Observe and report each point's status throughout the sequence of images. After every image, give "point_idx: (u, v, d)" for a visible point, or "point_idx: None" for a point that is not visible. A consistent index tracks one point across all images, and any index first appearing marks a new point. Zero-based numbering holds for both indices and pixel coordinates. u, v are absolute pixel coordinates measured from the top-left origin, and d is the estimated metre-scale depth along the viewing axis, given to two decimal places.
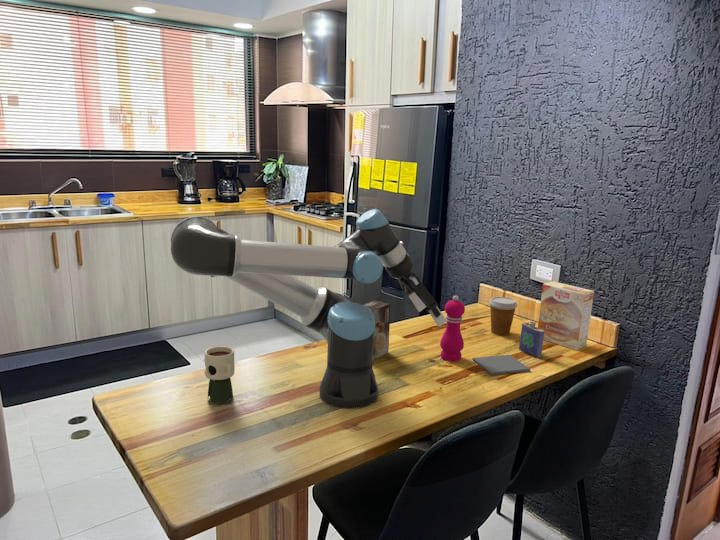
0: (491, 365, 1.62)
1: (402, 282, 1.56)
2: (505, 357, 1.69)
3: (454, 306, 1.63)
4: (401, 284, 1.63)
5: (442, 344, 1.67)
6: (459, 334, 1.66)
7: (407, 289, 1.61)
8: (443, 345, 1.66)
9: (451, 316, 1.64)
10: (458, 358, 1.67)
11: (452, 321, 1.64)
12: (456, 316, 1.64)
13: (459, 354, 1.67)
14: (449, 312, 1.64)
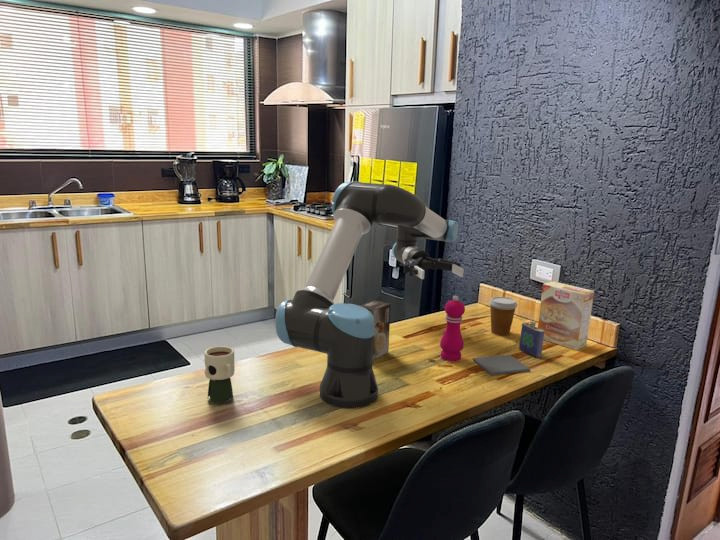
0: (491, 365, 1.62)
1: (421, 259, 1.84)
2: (505, 357, 1.69)
3: (454, 306, 1.63)
4: (408, 263, 1.80)
5: (442, 344, 1.67)
6: (459, 334, 1.66)
7: (416, 265, 1.79)
8: (444, 345, 1.66)
9: (451, 316, 1.64)
10: (458, 358, 1.67)
11: (452, 321, 1.64)
12: (456, 316, 1.64)
13: (459, 354, 1.67)
14: (449, 312, 1.64)
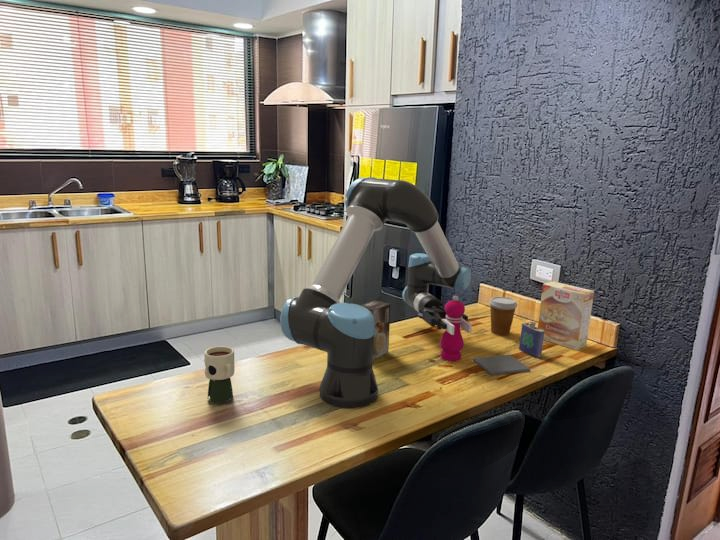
0: (491, 365, 1.62)
1: (436, 308, 1.76)
2: (505, 357, 1.69)
3: (454, 306, 1.63)
4: (430, 315, 1.70)
5: (442, 344, 1.67)
6: (459, 334, 1.66)
7: None
8: (443, 345, 1.66)
9: (451, 316, 1.64)
10: (458, 358, 1.67)
11: (452, 321, 1.64)
12: (456, 316, 1.64)
13: (459, 354, 1.67)
14: (449, 312, 1.64)
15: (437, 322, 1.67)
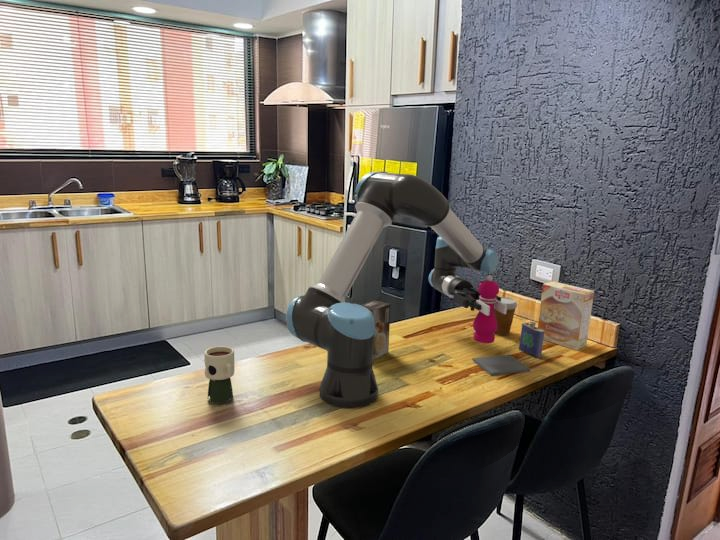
0: (491, 365, 1.62)
1: (467, 290, 1.72)
2: (505, 357, 1.69)
3: (488, 286, 1.59)
4: (463, 296, 1.67)
5: (475, 326, 1.63)
6: (493, 315, 1.62)
7: None
8: (477, 327, 1.62)
9: (485, 297, 1.61)
10: (492, 340, 1.63)
11: (486, 302, 1.61)
12: (490, 296, 1.60)
13: (493, 336, 1.64)
14: (483, 292, 1.60)
15: (471, 303, 1.63)
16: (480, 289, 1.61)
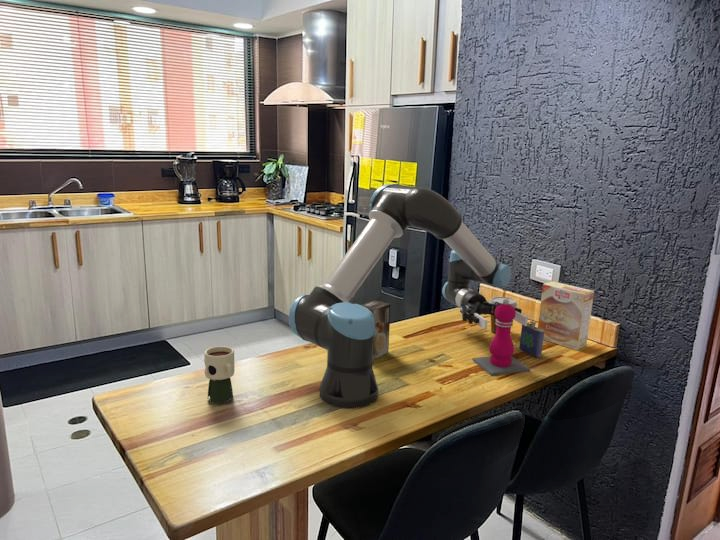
0: (491, 365, 1.62)
1: (479, 304, 1.73)
2: None
3: (505, 310, 1.58)
4: (466, 310, 1.69)
5: (492, 350, 1.62)
6: (510, 339, 1.61)
7: (475, 312, 1.68)
8: (494, 350, 1.61)
9: (502, 320, 1.59)
10: (509, 363, 1.62)
11: (503, 325, 1.59)
12: (507, 320, 1.59)
13: (510, 359, 1.63)
14: (500, 316, 1.59)
15: (468, 316, 1.66)
16: (496, 313, 1.60)
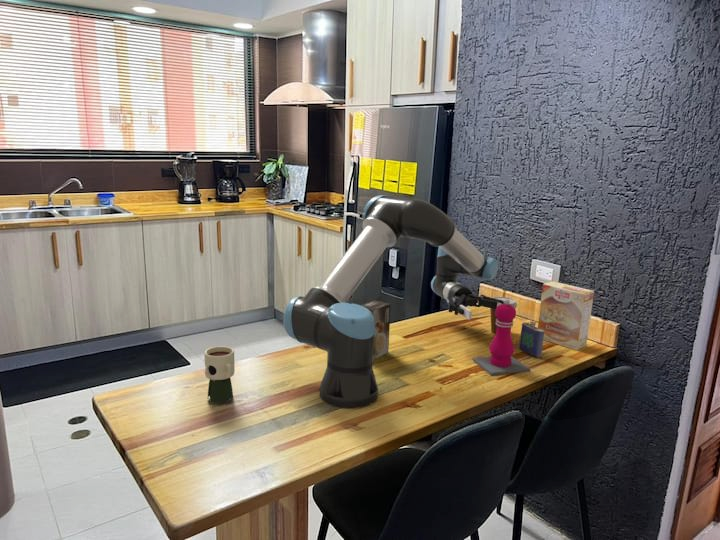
0: (491, 365, 1.62)
1: (465, 296, 1.82)
2: None
3: (505, 310, 1.58)
4: (452, 302, 1.77)
5: (492, 350, 1.62)
6: (510, 339, 1.61)
7: (460, 303, 1.76)
8: (494, 350, 1.61)
9: (502, 320, 1.59)
10: (509, 364, 1.62)
11: (503, 326, 1.59)
12: (507, 320, 1.59)
13: (510, 359, 1.63)
14: (500, 316, 1.59)
15: (453, 307, 1.74)
16: (497, 313, 1.60)
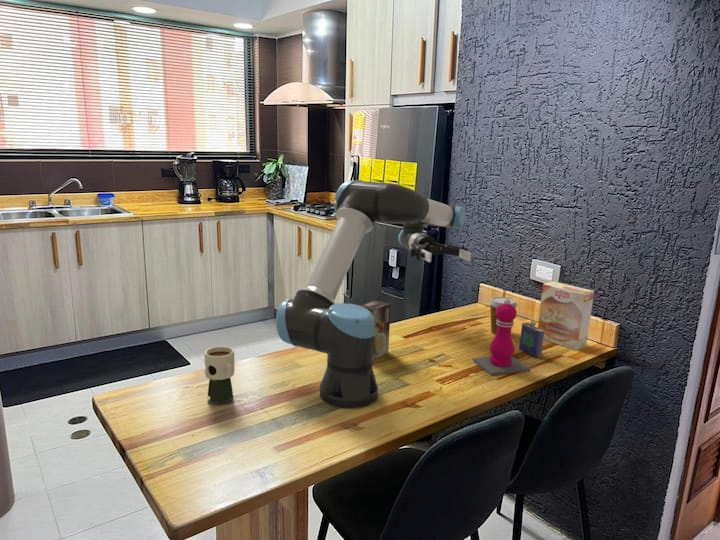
0: (491, 365, 1.62)
1: (428, 244, 1.83)
2: None
3: (506, 310, 1.58)
4: (415, 247, 1.78)
5: (492, 349, 1.62)
6: (510, 339, 1.61)
7: (423, 249, 1.78)
8: (494, 350, 1.61)
9: (503, 320, 1.60)
10: (509, 364, 1.62)
11: (504, 325, 1.59)
12: (508, 320, 1.59)
13: (510, 359, 1.63)
14: (501, 316, 1.59)
15: (415, 252, 1.75)
16: (497, 313, 1.60)
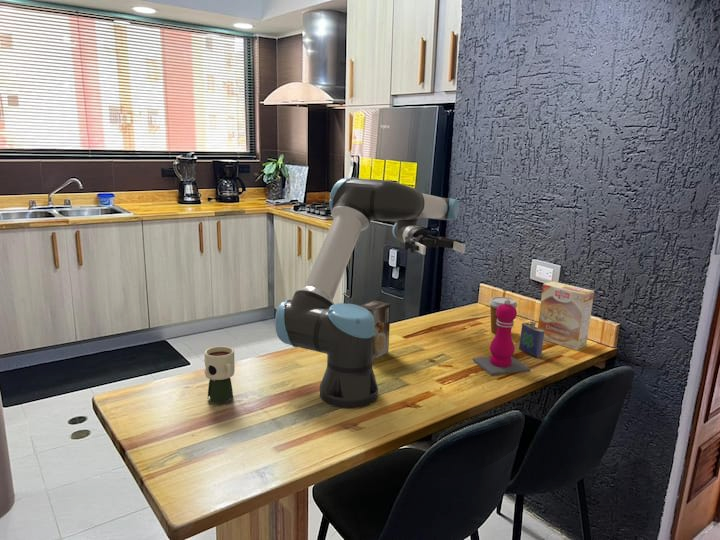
0: (491, 365, 1.62)
1: (422, 236, 1.83)
2: None
3: (506, 310, 1.58)
4: (409, 240, 1.78)
5: (492, 349, 1.62)
6: (510, 339, 1.61)
7: (417, 242, 1.77)
8: (494, 350, 1.61)
9: (503, 320, 1.59)
10: (509, 364, 1.62)
11: (504, 326, 1.59)
12: (508, 320, 1.59)
13: (510, 359, 1.63)
14: (501, 316, 1.59)
15: (409, 245, 1.75)
16: (497, 313, 1.60)
